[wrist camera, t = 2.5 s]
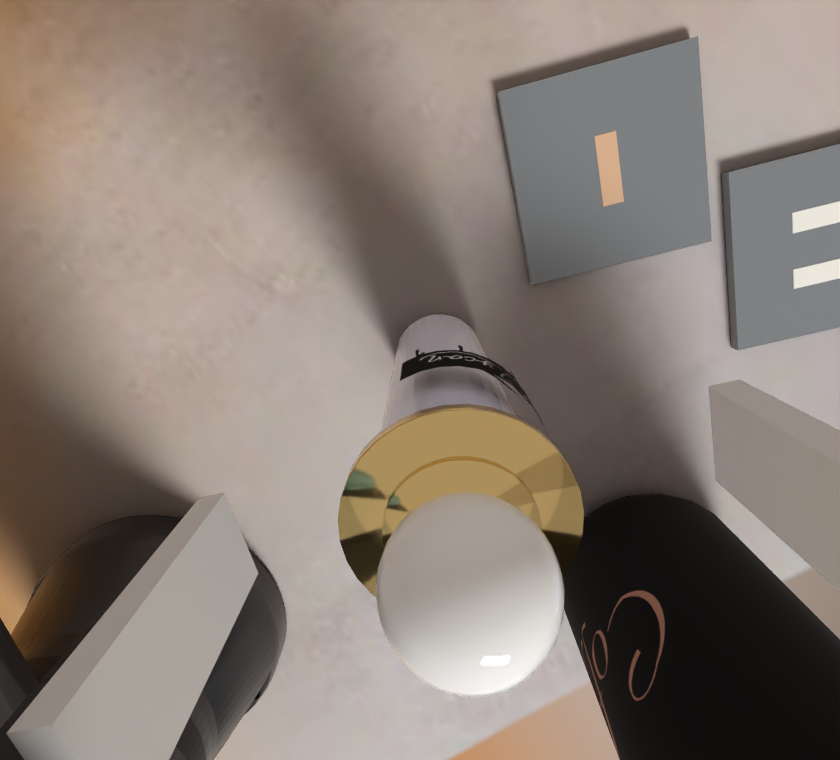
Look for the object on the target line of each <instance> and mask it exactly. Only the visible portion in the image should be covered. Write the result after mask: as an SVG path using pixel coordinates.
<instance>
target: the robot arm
mask: <svg viewBox="0 0 840 760" xmlns="http://www.w3.org/2000/svg"><path fill="white" fill-rule="evenodd" d="M709 397H710V410H711V424H712V437H713V451H714V464H715V477H716V481H717V482H718V483H719V484H720V485H721V486H723V487H724V488H725V489H726V490H727V491H728V492H729V493H730V494H731V495H733V496H734V497H735V498H736V499H737V500H738V501H739V502H740V503H741V504H743V505H744V506H745V507H746V508H747V509H748V510H749V511H750V512H751V513H753V514H754V515H755V516H756V517H757V518H758V519H759V520H760V521H761V522H763V523H764V524H765V525H766V526H767V527H768V528H769V529H770V530H771V531H773V532H774V533H775V534H776V535H777V536H778V537H779V538H780V539H781V540H783V541H784V542H785V543H786V544H787V545H788V546H789V547H790V548H791V549H793V550H794V551H795V552H796V553H797V554H798V555H799V556H800V557H801V558H803V559H804V560H805V561H806V562H807V563H808V564H809V565H810V566H811V567H813V568H814V569H815V570H816V571H817V572H818V573H819V574H820V575H822V576H823V577H824V578H825V579H826V580H827V581H828V582H829V583H830V584H831V585H833V586H834V587H835V588H836V589H837V590H838V591H839V592H840V431H839V430H837V429H835V428H833V427H832V426H830V425H828V424H826V423H824V422H822V421H820V420H818V419H816V418H814V417H812V416H810V415H808V414H806V413H804V412H802V411H800V410H798V409H796V408H794V407H792V406H790V405H788V404H786V403H784V402H782V401H781V400H779V399H777V398H775V397H773V396H771V395H769V394H767V393H765V392H763V391H761V390H759V389H757V388H755V387H753V386H751V385H749V384H747V383H745V382H743V381H741V380H736V381H731V382H727V383H722V384H718V385H713V386H709ZM286 624H287V622H286V612H285V607H284V603H283V600H282V597H281V594H280V592H279V590H278V588H277V586H276V584H275V582H274V580H273V579H272V577H271V576H270V574H269V573H268V572H267V570H266V569H265V568H264V566H263V565H262V564H261V563H260V562H259V561H258V560H257V559H256V558H255V557H254V556H253V555H252V554H251V553H250V552H249V550H248V547H247V545H246V542H245V540H244V537H243V535H242V533H241V530H240V528H239V525H238V523H237V521H236V518H235V516H234V513H233V511H232V509H231V506H230V504H229V501H228V499H227V497H226V494H225V493H220V494H216V495H211V496H207V497H202V498H199V499H198V500H197V501H196V502H195V504H194V505H193V506H192V507H191V509H190V510H189V511H188V512H187V513H186V515H185V516H184V517H183V518H182V519H178V518H172V517H163V516H139V517H130V518H125V519H120V520H116V521H113V522H110V523H107V524H104V525H102V526H100V527H97V528H96V529H94V530H92V531H90V532H88V533H87V534H85V535H84V536H83V537H81V538H80V539H79V540H77V541H76V542H75V543H74V544H73V545H72V546H71V547H70V548H69V549H68V550H67V551H66V552H65V553H63V554H62V555H61V556H60V557H59V558H58V559H57V560H56V561H55V562H54V563H53V564H52V565H51V566H50V567H49V568H48V569H47V570H46V572H45V573H44V574H43V576H42V577H41V578H40V580H39V581H38V583H37V585H36V586H35V588H34V591H33V593H32V595H31V598H30V600H29V603H28V605H27V607H26V609H25V611H24V613H23V614H22V616H21V618H20V620H19V621H18V623H17V625H16V627H15V628H14V630H13V632H12V634H11V635H10V633H9V632H8V630H7V628H6V627H5V625H4V623H3V622H2V620H1V618H0V760H214V758H215V757H216V755H217V754H218V753H219V751H220V750H221V748H222V747H223V746H224V744H225V743H226V741H227V740H228V738H229V737H230V735H231V733H232V732H233V730H234V729H235V727H236V726H237V724H238V723H239V721H240V720H241V718H242V717H243V715H245V714H246V713H247V712H248V711H249V710H250V709H251V708H252V707H253V706H254V705H255V704H256V703H257V701H258V700H259V699H260V697H261V696H262V695H263V693H264V692H265V690H266V689H267V687H268V685H269V683H270V681H271V679H272V677H273V675H274V672H275V670H276V667H277V663H278V660H279V657H280V654H281V651H282V648H283V645H284V642H285V637H286Z"/></svg>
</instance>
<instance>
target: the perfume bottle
mask: <svg viewBox="0 0 840 760" xmlns="http://www.w3.org/2000/svg"><path fill="white" fill-rule="evenodd" d="M489 361H490V362H489ZM491 363H493V365H492V364H491ZM511 373H512V372H511ZM501 374H507V375H503V378H502V377H501ZM508 375H509V376H508ZM497 376H498V377H500V378H502V379H503V380H505V381H507V382H508V383H510V384H512V385H513V386H514V387H515V388H516V389H517V390H518V392H519V393H520V392H521V393H522V394H523V395H524V396H525V397H526V398H527V399H528V397H527V395H526V394H525V392H524V390H523V389H522V388H521V386H520V385H519V383H518V382H517V380H516V379H515V377H514V375H512V374H510V373H509V372H508V371H507V370H505V369H504V368H503V367H502V366H500V365H499V364H497V363H495V362H494V361H492V360H490V359H489V358H487V356H486V354H485V352H484V350H483V348H482V346H481V344H480V342H479V339H478V337H477V335H476V334H475V333H474V331H473V330H472V328H470V327H469V326H468V325H467V324H466V323H465V322H463V321H462V320H460V319H458V318H456V317H453V316H450V315H443V314H437V315H430V316H425V317H423V318H421V319H419V320H417V321H415V322H414V323H413V324H411V325H410V326H409V327H408V328H407V329H406V330H405V331H404V333H403V335H402V336H401V338H400V340H399V343H398V346H397V350H396V355H395V361H394V366H393V371H392V376H391V381H390V386H389V391H388V397H387V402H386V407H385V412H384V417H383V422H382V427H381V432H380V433H378V434H377V435H376V436H375V437H374V438H373V439H372V440H371V441H370V443H369V444H368V445H367V446H366V447H365V448H364V449H363V450H362V451H361V453H360V455H359V456H358V458H357V459H356V461H355V463H354V464H353V466H352V467H351V470H350V472H349V475H348V478H347V481H346V484H345V486H344V489H343V493H342V496H341V500H340V508H339V516H338V526H339V535H340V542H341V545H342V548H343V551H344V554H345V557H346V560H347V562H348V564H349V565H350V567H351V569H352V570H353V572H354V574H355V575H356V577H357V578H358V580H359V581H360V582H361V583H362V584H363V585H364V586H365V587H366V588H367V589H368V590H369V591H370V593H371V594H373V595H374V596H375V597H376V601H377V611H378V615H379V618H380V622H381V625H382V628H383V631H384V634H385V637H386V639H387V641H388V642H389V644H390V645H391V647H392V649H393V650H394V652H395V653H396V655H397V657H398V658H399V660H400V661H401V662H402V663H403V664H404V666H405V667H406V668H407V669H408V670H409V671H410V672H411V673H413V674H414V675H415V676H417V677H418V678H419V679H421V680H422V681H423V682H425V683H426V684H428V685H429V686H431V687H433V688H435V689H437V690H439V691H441V692H445V693H448V694H452V695H456V696H464V697H485V696H491V695H495V694H499V693H502V692H505V691H507V690H510V689H512V688H514V687H516V686H518V685H520V684H521V683H523V682H524V681H525V680H527V679H528V678H529V677H531V676H532V675H533V674H534V673H535V671H536V670H537V669H538V668H539V667H540V666H541V665H542V663H543V662H544V661H545V660H546V658H547V657H548V656H549V654H550V652H551V650H552V649H553V647H554V645H555V643H556V640H557V637H558V634H559V631H560V627H561V624H562V621H563V614H564V590H565V589H564V584H563V579H562V576H563V575H564V574H565V573H566V572H567V570H568V568H569V566H570V564H571V563H572V561H573V559H574V557H575V555H576V553H577V550H578V547H579V544H580V540H581V537H582V533H583V520H584V509H583V503H582V497H581V491H580V489H579V486H578V484H577V481H576V479H575V477H574V474H573V472H572V470H571V468H570V467H569V465H568V463H567V462H566V460H565V459H564V457H563V456H562V454H561V453H560V451H559V450H558V449H557V447H556V446H555V444H554V443H553V442H552V441H551V440H550V439H549V438H548V437H547V436H545V435H544V434H543V433H542V432H541V431H540V430H539V429H538V428H537V427H535V426H533V425H532V424H530V423H528V422H527V421H525V420H523V419H522V418H520V417H518V416H516V415H515V414H514V412H513V410H512V408H511V406H510V404H509V402H508V400H507V397H506V395H505V393H504V391H503V389H502V387H501V385H500V383H499V381H498V380H500V379H499V378H498V377H497ZM510 376H511V377H512V378H511V377H510ZM513 379H515V380H516V382H515V381H514V380H513ZM500 381H501V380H500ZM501 382H502V383H503V384H505V383H504V382H503V381H501ZM511 382H512V383H511ZM505 385H506V384H505ZM506 386H507V385H506ZM507 387H508V386H507ZM508 388H509V389H511V388H510V387H508ZM511 390H512V389H511ZM512 391H513V390H512ZM513 392H514V391H513ZM514 393H515V392H514ZM521 393H520V394H521ZM522 394H521V395H522ZM517 395H518V394H517ZM523 395H522V396H523ZM518 396H519V395H518ZM524 396H523V397H524ZM519 397H520V396H519ZM525 397H524V398H525ZM526 398H525V399H526ZM527 399H526V400H527ZM527 401H529V402H530V400H529V399H528V400H527ZM529 402H528V403H529ZM530 403H531V402H530ZM530 403H529V404H530ZM530 405H532V404H530ZM532 406H533V405H532ZM532 408H534V407H532ZM534 411H536V410H535V409H534ZM536 414H537V412H536ZM537 415H538V414H537ZM538 417H539V415H538ZM539 418H540V417H539ZM540 420H541V419H540ZM541 422H542V421H541ZM542 424H543V423H542ZM543 426H544V425H543Z"/></svg>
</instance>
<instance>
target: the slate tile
mask: <svg viewBox="0 0 840 760" xmlns="http://www.w3.org/2000/svg"><path fill="white" fill-rule="evenodd" d="M497 101H498V106H499V112H500V118H501V123H502V129H503V135H504V140H505V146H506V151H507V157H508V163H509V168H510V174H511V179H512V185H513V191H514V196H515V202H516V208H517V213H518V219H519V224H520V230H521V236H522V241H523V247H524V252H525V258H526V264H527V269H528V275H529V281H530V284H532V285H535V284H539V283H543V282H547V281H551V280H555V279H559V278H563V277H567V276H571V275H575V274H579V273H583V272H588V271H592V270H596V269H600V268H604V267H608V266H612V265H616V264H620V263H624V262H628V261H632V260H636V259H640V258H645V257H649V256H653V255H657V254H661V253H665V252H669V251H673V250H677V249H681V248H685V247H689V246H693V245H697V244H702V243H706V242H710V241H712V240H711V225H710V210H709V195H708V180H707V165H706V150H705V134H704V119H703V104H702V89H701V74H700V59H699V44H698V36H697V37H694V38H690V39H687V40H683V41H679V42H676V43H672V44H669V45H665V46H661V47H658V48H654V49H650V50H647V51H643V52H640V53H636V54H632V55H629V56H625V57H622V58H618V59H614V60H611V61H607V62H604V63H600V64H596V65H593V66H589V67H585V68H582V69H578V70H575V71H571V72H567V73H564V74H560V75H557V76H553V77H549V78H546V79H542V80H539V81H535V82H531V83H528V84H524V85H521V86H517V87H513V88H510V89H506V90H502V91H499V92H498V93H497Z"/></svg>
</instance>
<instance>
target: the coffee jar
mask: <svg viewBox="0 0 840 760" xmlns="http://www.w3.org/2000/svg"><path fill="white" fill-rule="evenodd" d="M562 579H563V584H564V589H565V590H564V610H565V613H566V615H567V618H568V621H569V623H570V626H571V629H572V632H573V634H574V637H575V640H576V642H577V645H578V648H579V651H580V653H581V656H582V659H583V661H584V664H585V667H586V670H587V672H588V675H589V678H590V680H591V683H592V686H593V688H594V691H595V694H596V697H597V699H598V702H599V705H600V708H601V710H602V713H603V716H604V718H605V721H606V724H607V726H608V729H609V732H610V735H611V737H612V740H613V743H614V746H615V748H616V751H617V754H618V756H619V759H620V760H840V639H839V638H838V637H837V636H836V635H835V634H834V633H833V632H831V630H830V629H829V628H828V627H827V626H826V625H824V623H823V622H821V620H819V619H818V617H817V616H816V615H815V614H814V613H813V612H812V611H810V609H809V608H808V607H807V606H806V605H805V604H804V603H802V601H800V599H799V598H798V597H797V596H796V595H795V594H794V593H793V592H792V591H791V590H790V589H789V588H788V587H787V586H786V585H785V584H784V583H783V582H782V581H781V580H780V579H779V578H778V577H777V576H776V575H775V574H774V573H773V572H772V571H771V570H770V569H769V568H768V567H767V566H766V565H765V564H764V563H763V562H762V561H761V560H760V559H759V558H758V557H757V556H756V555H755V554H754V553H753V552H752V551H751V550H750V549H749V548H748V547H747V546H746V545H745V544H744V543H743V542H742V541H741V540H740V539H739V538H738V537H737V536H736V535H735V534H734V533H733V532H732V531H731V530H730V529H729V528H728V527H727V526H726V525H725V524H724V523H723V522H722V521H721V520H720V519H719V518H718V517H717V516H716V515H715V514H713V513H711V512H710V511H708V510H706V509H704V508H703V507H701V506H699V505H698V504H696V503H694V502H692V501H689V500H686V499H681V498H676V497H671V496H667V495H662V494H656V495H654V494H650V495H637V496H627V497H624V498H622V499H619V500H616V501H613V502H610V503H607V504H605V505H603V506H602V507H600V508H599V509H597V510H596V511H594V512H593V513H592V514H590V515H589V516H587V517H586V518H584V520H583V533H582V537H581V540H580V544H579V547H578V550H577V553H576V555H575V557H574V559H573V561H572V563H571V564H570V566H569V568H568V570H567V572H566V573H565V574H564V575H563V576H562Z"/></svg>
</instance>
